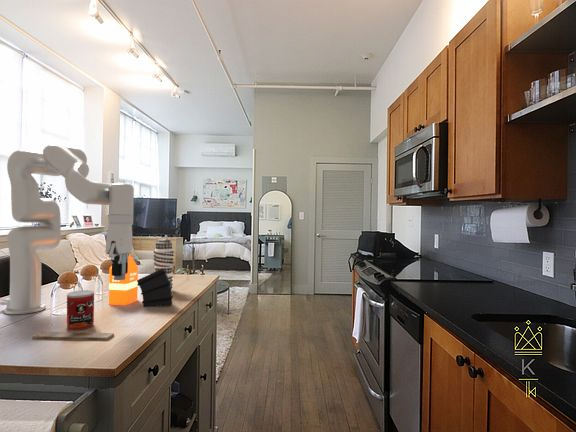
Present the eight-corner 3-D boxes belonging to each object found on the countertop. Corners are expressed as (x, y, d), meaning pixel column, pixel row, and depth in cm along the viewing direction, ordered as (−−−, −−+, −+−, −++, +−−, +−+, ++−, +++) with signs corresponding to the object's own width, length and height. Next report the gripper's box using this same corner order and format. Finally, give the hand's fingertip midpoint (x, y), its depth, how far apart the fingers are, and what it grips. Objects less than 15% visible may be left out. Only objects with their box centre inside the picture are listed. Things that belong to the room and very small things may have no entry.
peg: (111, 280, 119) (112, 250, 119) (116, 278, 123) (117, 249, 122) (122, 280, 119) (123, 250, 119) (127, 278, 123) (127, 249, 122)
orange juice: (137, 300, 154) (138, 253, 154) (126, 305, 145) (127, 255, 145) (120, 299, 155) (121, 253, 154) (108, 304, 146) (109, 255, 146)
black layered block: (179, 302, 145) (163, 268, 143) (148, 317, 143) (131, 283, 141) (180, 299, 148) (164, 267, 147) (149, 314, 146) (133, 281, 145)
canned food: (66, 331, 112) (66, 296, 112) (66, 324, 119) (66, 291, 118) (94, 327, 116) (94, 294, 116) (93, 321, 123) (93, 289, 122)
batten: (32, 339, 105) (32, 336, 105) (41, 334, 109) (41, 331, 109) (107, 340, 105) (107, 337, 105) (114, 335, 109) (114, 333, 109)
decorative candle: (169, 293, 167) (170, 240, 167) (149, 293, 167) (150, 239, 167) (175, 289, 176) (176, 238, 176) (157, 289, 176) (158, 238, 176)
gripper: (121, 219, 129) (120, 270, 129) (96, 220, 112) (95, 278, 112) (142, 220, 129) (140, 270, 129) (120, 221, 112) (119, 279, 113)
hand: (119, 274), depth 121 cm, fingers closed on peg, 3 cm apart
